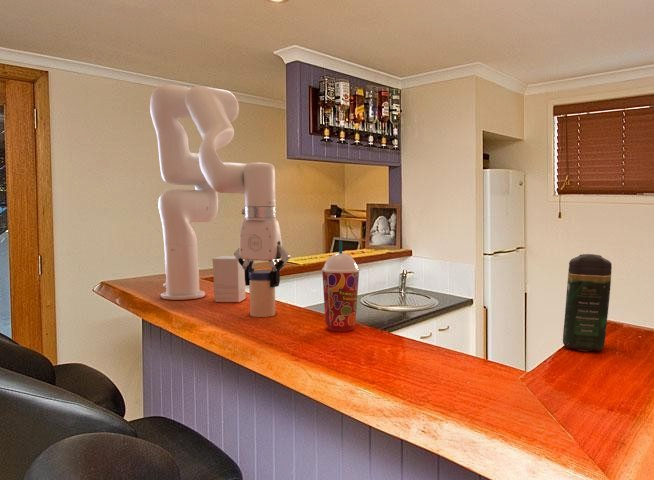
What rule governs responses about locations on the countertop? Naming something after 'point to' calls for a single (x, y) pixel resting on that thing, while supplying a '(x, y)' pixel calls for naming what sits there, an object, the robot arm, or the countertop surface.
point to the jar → (261, 298)
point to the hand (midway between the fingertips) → (262, 285)
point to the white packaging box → (228, 279)
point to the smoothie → (340, 291)
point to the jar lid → (259, 275)
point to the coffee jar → (587, 302)
